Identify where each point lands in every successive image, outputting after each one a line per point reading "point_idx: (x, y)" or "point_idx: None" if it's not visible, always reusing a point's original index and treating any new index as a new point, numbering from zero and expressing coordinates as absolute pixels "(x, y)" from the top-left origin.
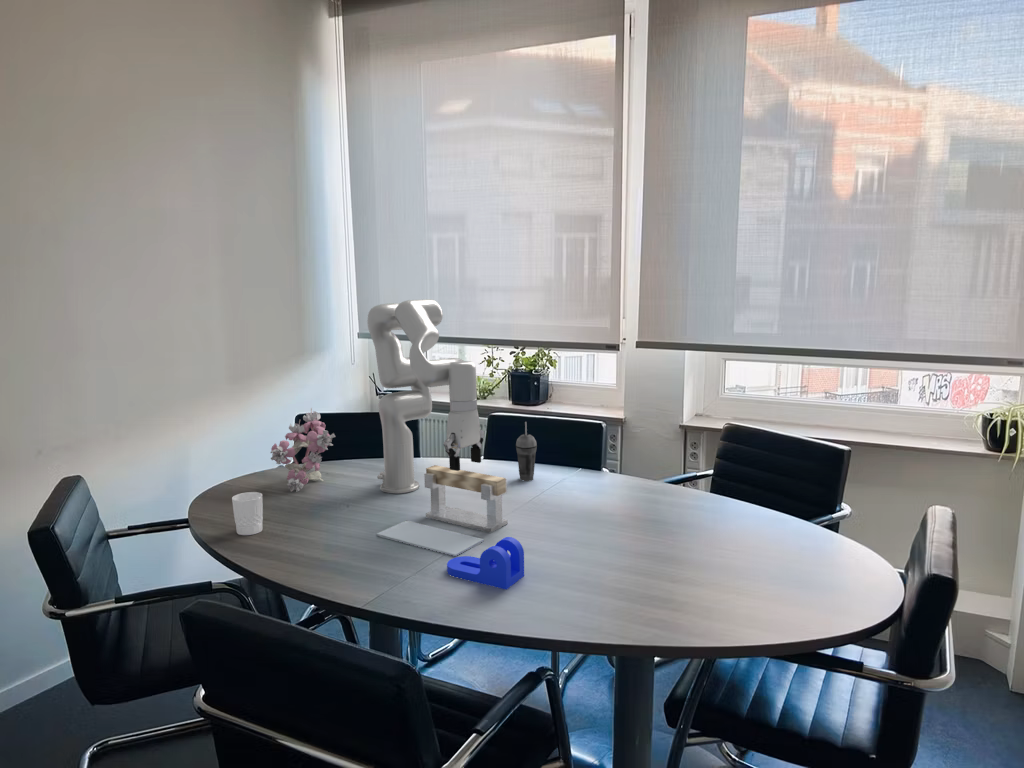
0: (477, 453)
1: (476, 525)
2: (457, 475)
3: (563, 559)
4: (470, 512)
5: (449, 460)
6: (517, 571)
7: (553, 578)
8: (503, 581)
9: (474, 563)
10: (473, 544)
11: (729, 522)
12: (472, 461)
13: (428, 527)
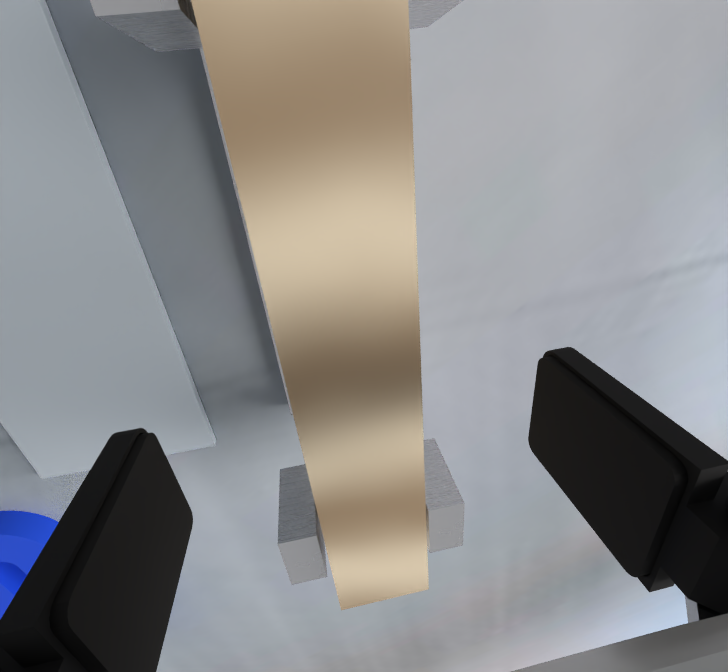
0: (599, 512)
1: (277, 357)
2: (277, 342)
3: (289, 603)
4: None
5: (53, 534)
6: None
7: (194, 644)
8: None
9: None
10: None
11: (634, 623)
12: (538, 372)
13: (92, 189)
